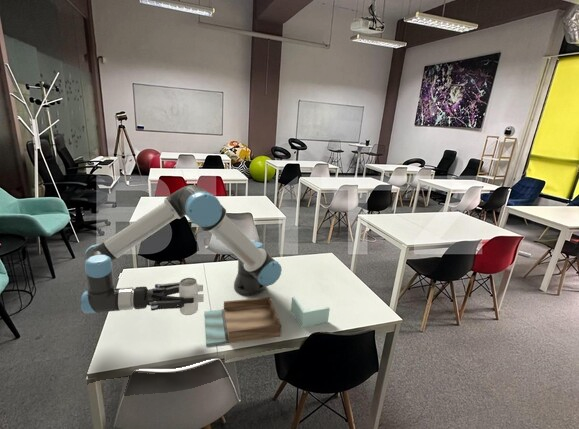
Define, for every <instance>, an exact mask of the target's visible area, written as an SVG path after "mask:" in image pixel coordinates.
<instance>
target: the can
mask: <svg viewBox="0 0 579 429" xmlns="http://www.w3.org/2000/svg"><path fill="white" fill-rule="evenodd" d="M179 282H180V285H179V293H178V295H179V296H178V297H184V296H186V295H198V294H199V292H198V282H197V279H195V278H194V277H184V278H183V279H181V280H180V281H179ZM198 311H199V302H196V303H187V304H184V307H182V308H179V312H180V314H182V315H184V316H191V315H194V314H196V313H197V312H198Z"/></svg>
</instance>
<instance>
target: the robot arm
mask: <svg viewBox="0 0 579 429" xmlns="http://www.w3.org/2000/svg"><path fill="white" fill-rule="evenodd" d="M185 216H187V218H188V219H189V220H190V221H191V222H192V223H193V224H195V225H197V227H198V228H200V230H202V231H203V232H206V233H207V232H209V233H211V234H212V235H213V236H215V238H216V239H217V240H219V242H221V244H223V245H224V246H225V247H226V248H227V249H228V251H230V252H231V253H233V255H234V256H235V257H237V261H238V262H237V264H238V265H237V274H236V277H235V279H234V282H233V289H234V291H235V292H236V293H238V294H240V295H243V296H255V295H259V294H262V293H263V292H264V290H266V289H265V288H266V287H269V286H272V285H274V284H275V283H276V282H277V281H278V280H279V279H280V276H281V275H282V266H281V264H280V263H279V261H277V260H276V259H274V258H273V257H272V256H271V255H270V254H269V253H268V252H267V251H266V250H265V246H264V244H263V243H262V242H259V241H252V240H250V238H249V237H248V236H247V235H246V234H244V232H243V231H242V230H241V229H240V228H239V227H238V226H237V225H236V224H235V223H234V222H233V221H232V220H231V219H230V218H229V217H228V216H227V209H226V207H224V206H223V205H222V204H221V202H220V201H219V198H217V197H216V195H214V194H212V193H211V192H208V191H207V190H205V189H204V188H203V187H202V186H199V185H196V184H195V185H194V184H190V185H186V186H184V187H181V188H179V189H178V190H176V191H174V192H173V193H171V194H169V195H168V196H167V197H165V198H164V201H163V203H161V204H159V205H158V206H156V207H155V208H154V209H152V210H150V211H149V212H148V213H146V214H144V215H142V216H141V217H140V218H138V219H137V220H135V221H133V222H132V223H131V224H129V225H127V226H126V227H125V228H123V229H121V230H120V231H119V232H118V231H117V233H116V234H114V235H113V236H111V237H109V238H107V239H106V240H105V241H104V242H102V243H100V244H99V243H98V244H93V245H90V246H89V247H88V248H87V249H86V250H85V253H84V259H83V260H84V272H85V276H86V282H87V283H86V284H87V290H85V291H84V292H83V293H82V295H81V297H80V298H81V299H80V308H81V311H82V312H83V313H85V314H100V313H101V314H102V313H108V312H119V311H130V310H131V311H132V310H133V309H134V310H144V309H147V307H148V306H150V311H153V312H154V311H159V310H171V309H172V310H173V309H176V310H177V309H180V308H182V307H184V304H187V303H196V302H198V303H203V302H204V300H205V298H204V296H205V295H204V293H202V294H201V292H204V284H203V283H201V284H198V283H197V284H198V295H186V296H184V297H179V296H174V295H175V294H179V285H180V281H179V282H172V283H171V282H170V283H155V284H154V288H150V289H148V287H147V286H136V287H135V288H134V287H133V286H132V287H130V286H129V287H122V288H121V287H120V288H117V287H116V288H115V284H114V274H113V273H114V271H113V267H114V266H113V262H114V261H116V260H117V259H118V258H120V257H121V256H123V255H124V254H126V253H127V252H128V251H130V250H131V249H133V248H134V247H135V246H137V245H139V244H141V243H142V242H143V241H145V240H146V239H148V238H149V237H151V236H152V235H154V233H156V232H158V231H159V230H161V229H162V228H164V227H165V226H166V225H168V224H170V223H172V221H174V220H176V219H179V220H180V219H182V218H183V217H185ZM199 292H200V293H199Z"/></svg>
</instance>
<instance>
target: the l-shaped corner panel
mask: <svg viewBox="0 0 579 429" xmlns="http://www.w3.org/2000/svg"><path fill="white" fill-rule="evenodd" d="M290 304H291V307H290V312H291V314H292V315H293V316H294V317H296V318H295V320H296V321H297V322H298V323H299V325H300V327H301V326H302V327H301V328H306V326H307V327H312V326H316V325H315V324H317V325H321V324H320V323H322V324H325V323H324V322H327V323H328V322H329V316H330V310H331V309H330V307H329V306H327V307H321V308H315V309H306V310H305V309H304V308H303V307H302V305H301V304H300V303H299V301H298V300H297V298H296V297H295V296H292V297H291V303H290ZM311 325H312V326H311Z"/></svg>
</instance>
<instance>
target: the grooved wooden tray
mask: <svg viewBox="0 0 579 429" xmlns="http://www.w3.org/2000/svg"><path fill="white" fill-rule="evenodd" d="M204 329H205V330H204V332H205V345H206V346H205V347H208V346H217V345H223V344H224V345H225V344H231V343H233V344H234V343H240V342H247V341H256V340H262V339H263V340H265V339H271V338H278V337H279V338H280V337H281V335H282V324H281V321H280V318H279V315H278V314H277V311H276V308H275V306H274V304H273V301H272V298H271V297H269V296H268V297H257V298H247V299H246V298H245V299H236V300H226V301H225V300H224V301H223V308H222V309H216V310H206V311H204Z"/></svg>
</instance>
